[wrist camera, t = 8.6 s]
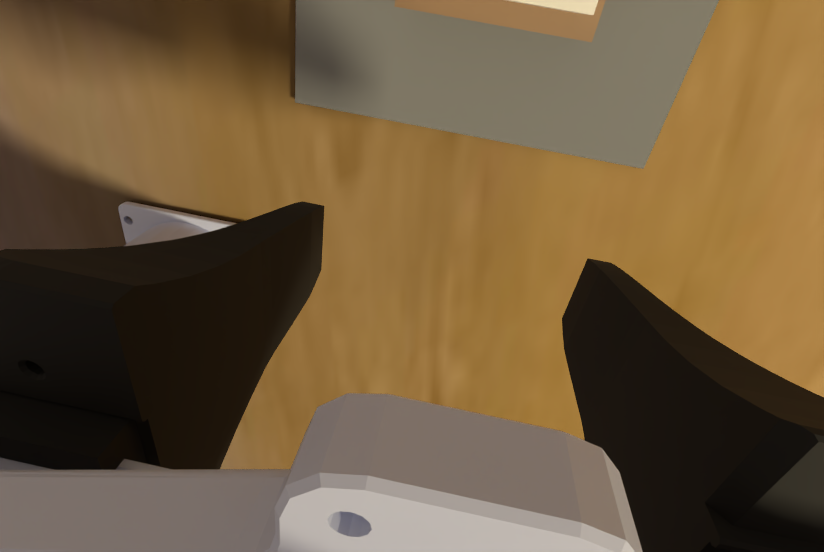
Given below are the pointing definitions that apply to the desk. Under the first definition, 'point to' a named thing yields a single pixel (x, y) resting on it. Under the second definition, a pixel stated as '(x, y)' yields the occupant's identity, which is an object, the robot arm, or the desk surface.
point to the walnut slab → (514, 15)
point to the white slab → (564, 5)
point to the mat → (504, 73)
